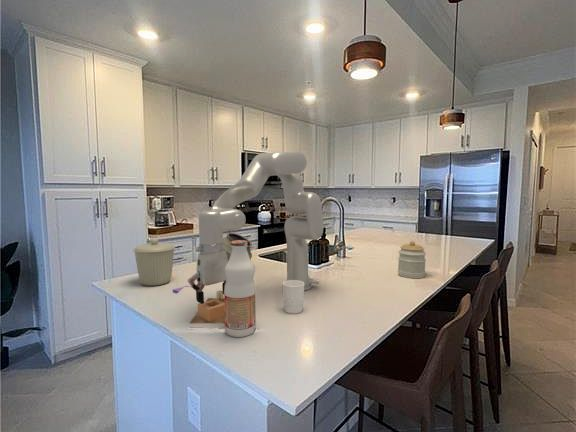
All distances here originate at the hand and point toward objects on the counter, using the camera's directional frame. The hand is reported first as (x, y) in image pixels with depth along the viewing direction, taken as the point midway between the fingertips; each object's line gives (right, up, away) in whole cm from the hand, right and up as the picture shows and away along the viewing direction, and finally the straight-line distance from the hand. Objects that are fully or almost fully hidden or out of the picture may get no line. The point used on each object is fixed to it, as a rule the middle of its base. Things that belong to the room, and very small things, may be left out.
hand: (213, 298), depth 107 cm
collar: (0, -6, 0) cm, 6 cm away
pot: (-5, -2, +65) cm, 65 cm away
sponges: (-17, -6, +28) cm, 33 cm away
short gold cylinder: (0, -5, +11) cm, 12 cm away
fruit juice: (+10, -8, -8) cm, 15 cm away
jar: (+87, -3, +55) cm, 103 cm away
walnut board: (0, -7, +6) cm, 9 cm away
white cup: (+27, -7, +9) cm, 29 cm away
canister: (-37, -4, +42) cm, 56 cm away
